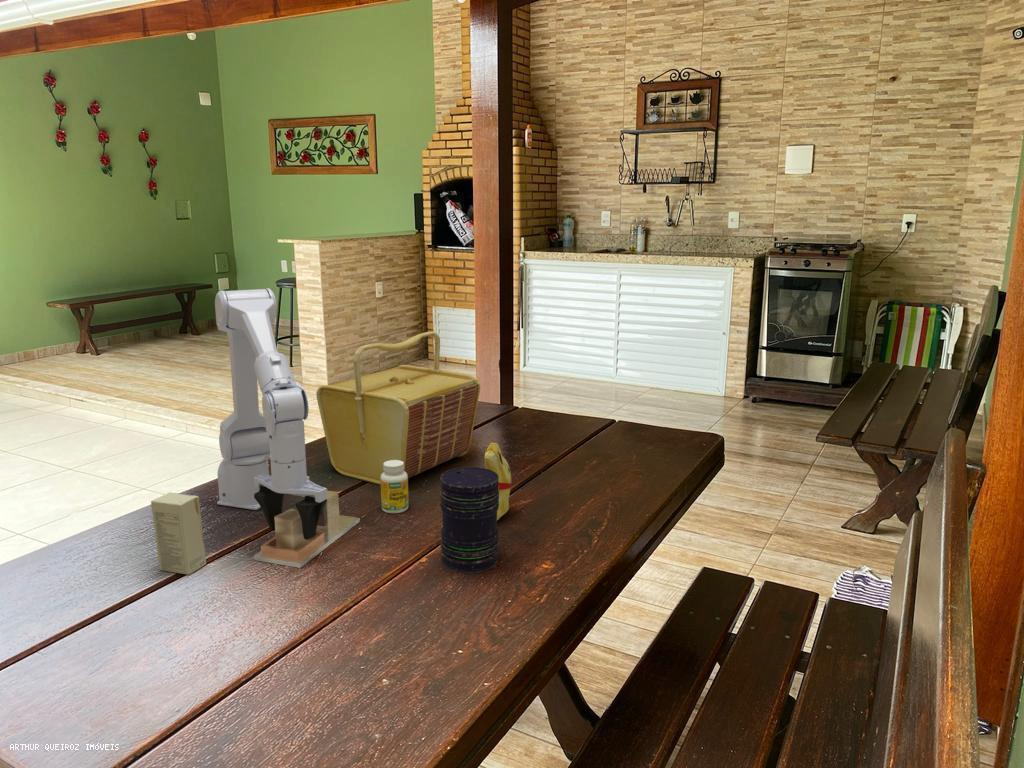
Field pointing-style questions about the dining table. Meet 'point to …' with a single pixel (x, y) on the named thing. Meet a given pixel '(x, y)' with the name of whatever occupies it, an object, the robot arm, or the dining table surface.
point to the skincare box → (178, 533)
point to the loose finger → (289, 530)
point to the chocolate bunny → (502, 468)
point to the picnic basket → (398, 416)
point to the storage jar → (469, 519)
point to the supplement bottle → (394, 487)
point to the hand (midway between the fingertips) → (292, 533)
